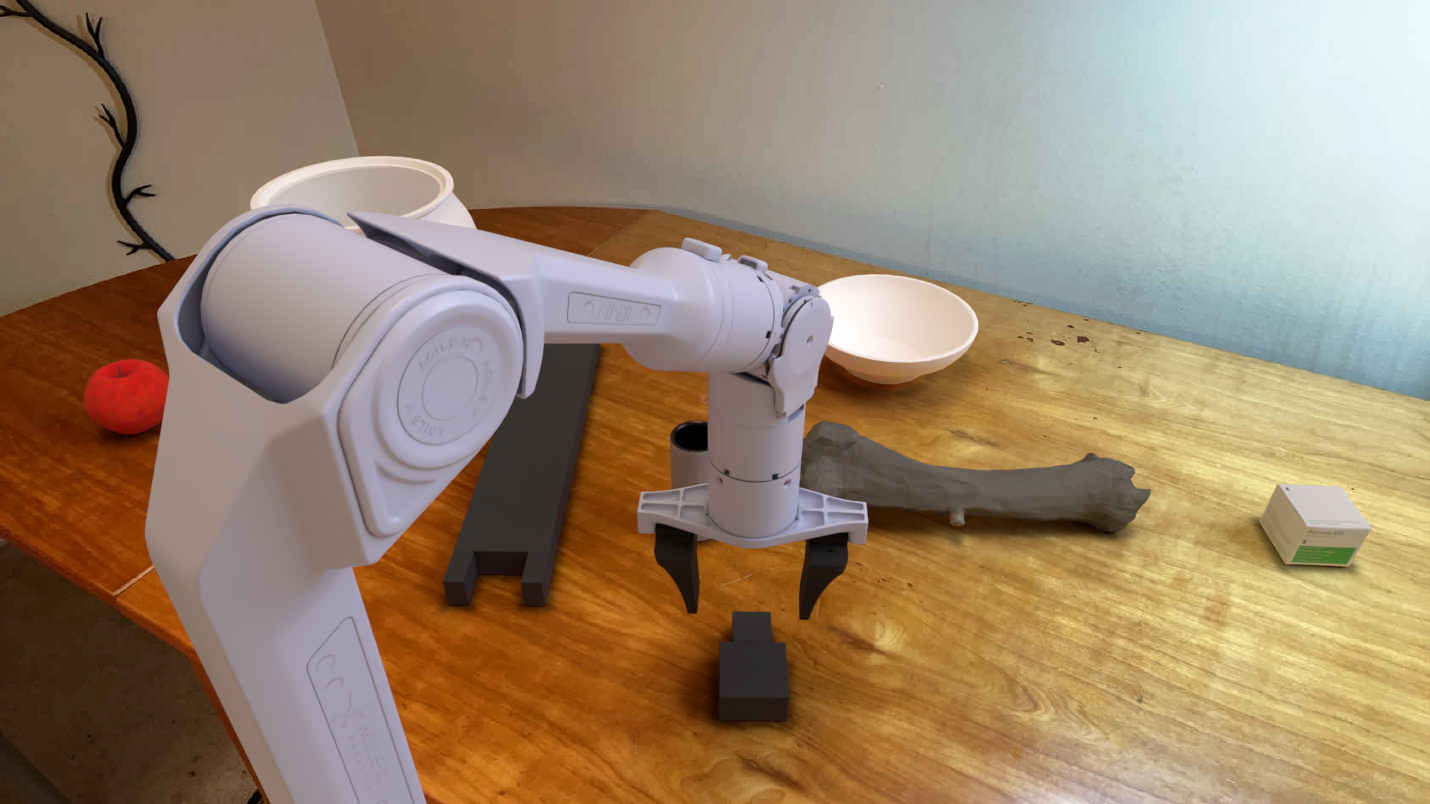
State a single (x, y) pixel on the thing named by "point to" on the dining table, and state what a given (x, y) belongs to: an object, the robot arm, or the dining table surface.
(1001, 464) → the dining table surface
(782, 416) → the robot arm
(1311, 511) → the small box
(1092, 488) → the bone
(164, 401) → the apple
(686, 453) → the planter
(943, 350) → the bowl
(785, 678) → the pad
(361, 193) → the pot
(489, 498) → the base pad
